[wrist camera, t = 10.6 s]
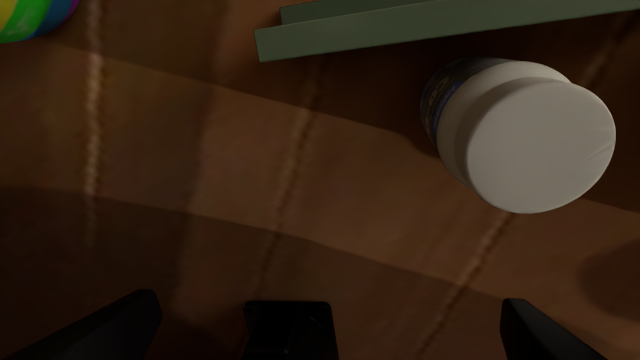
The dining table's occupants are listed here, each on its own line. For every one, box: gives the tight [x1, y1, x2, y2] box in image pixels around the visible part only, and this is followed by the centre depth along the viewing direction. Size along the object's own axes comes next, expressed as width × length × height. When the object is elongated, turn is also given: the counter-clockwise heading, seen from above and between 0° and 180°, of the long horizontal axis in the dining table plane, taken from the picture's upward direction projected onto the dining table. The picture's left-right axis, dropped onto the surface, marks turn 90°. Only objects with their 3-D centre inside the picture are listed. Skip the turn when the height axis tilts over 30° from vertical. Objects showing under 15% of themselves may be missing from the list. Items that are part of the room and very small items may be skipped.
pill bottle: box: [420, 56, 616, 213], centre depth 13 cm, size 5×5×8 cm
